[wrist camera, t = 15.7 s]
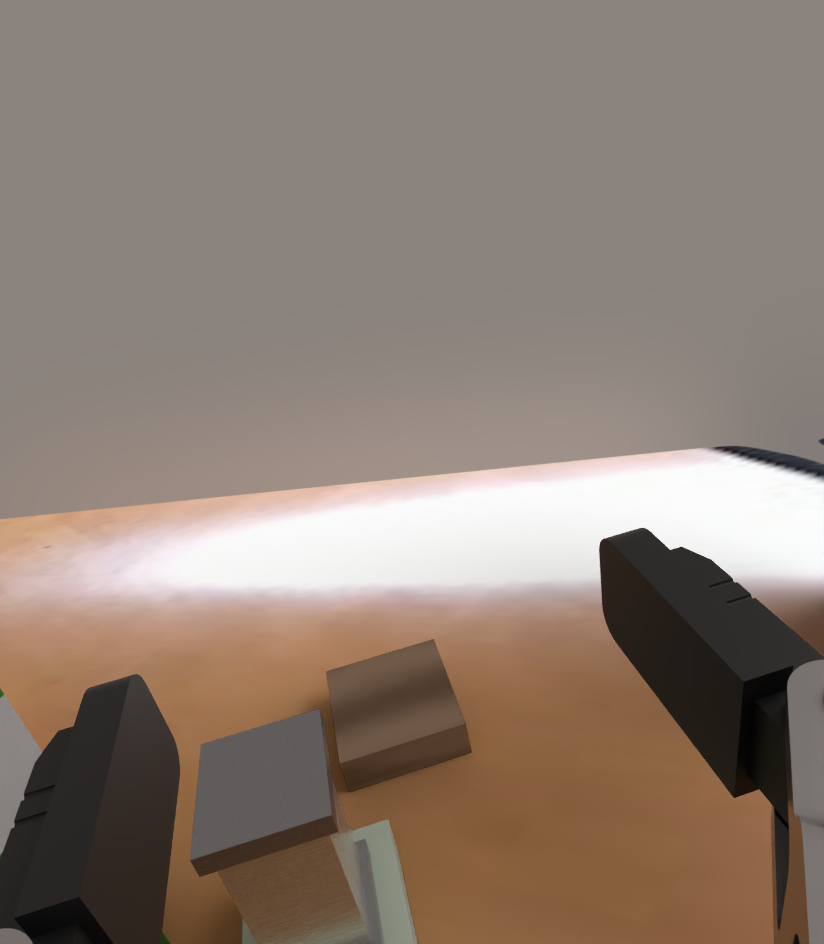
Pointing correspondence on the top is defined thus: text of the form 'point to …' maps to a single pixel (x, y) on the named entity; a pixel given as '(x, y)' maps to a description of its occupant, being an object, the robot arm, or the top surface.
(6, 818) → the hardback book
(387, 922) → the green stand
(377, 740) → the walnut stand
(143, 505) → the top surface
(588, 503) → the top surface
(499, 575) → the top surface
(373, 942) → the grey square pedestal
